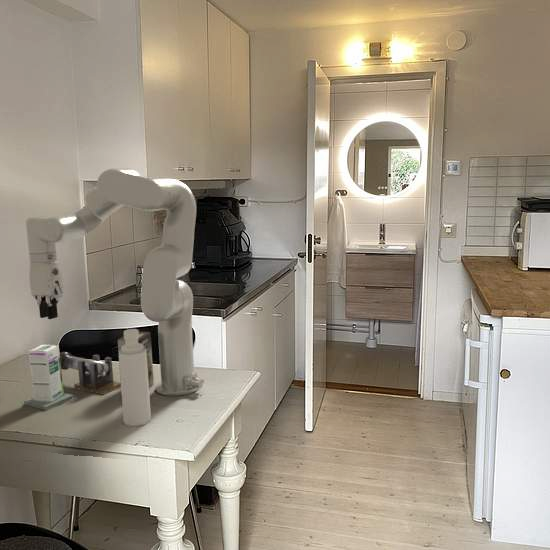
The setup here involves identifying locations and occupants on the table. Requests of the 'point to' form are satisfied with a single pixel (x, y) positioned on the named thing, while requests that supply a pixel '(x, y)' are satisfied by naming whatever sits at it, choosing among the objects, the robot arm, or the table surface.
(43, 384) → the syrup box
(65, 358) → the shaft
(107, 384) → the bracket
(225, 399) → the table surface
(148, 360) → the coffee box
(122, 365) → the spray bottle
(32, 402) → the grey-green square pad
